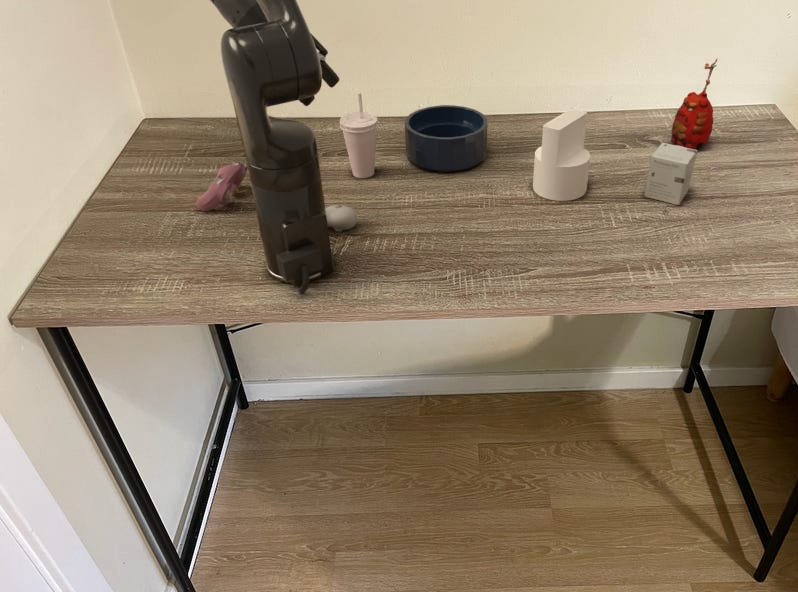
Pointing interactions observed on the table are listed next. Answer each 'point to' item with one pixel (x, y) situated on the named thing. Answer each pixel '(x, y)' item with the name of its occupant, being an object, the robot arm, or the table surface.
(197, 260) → the table surface
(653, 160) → the product carton
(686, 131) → the red clay folk toy
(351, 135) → the smoothie
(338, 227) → the white head bust
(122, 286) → the table surface
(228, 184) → the video game controller
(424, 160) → the bowl
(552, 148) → the base with upright slab
